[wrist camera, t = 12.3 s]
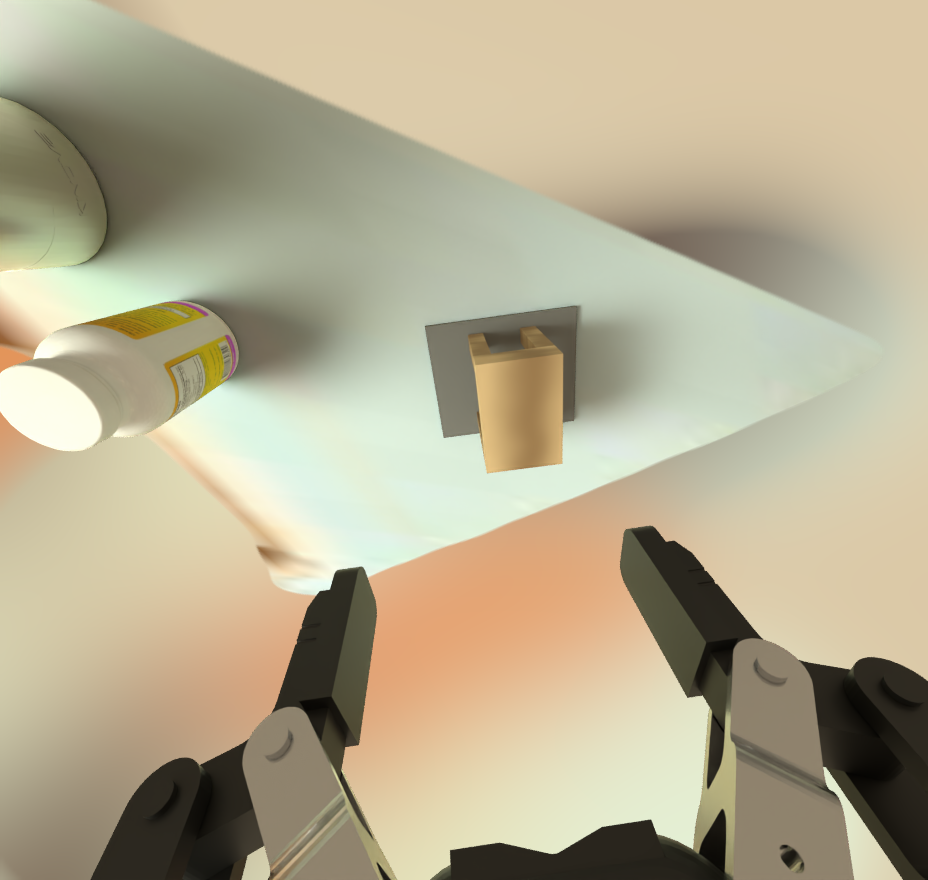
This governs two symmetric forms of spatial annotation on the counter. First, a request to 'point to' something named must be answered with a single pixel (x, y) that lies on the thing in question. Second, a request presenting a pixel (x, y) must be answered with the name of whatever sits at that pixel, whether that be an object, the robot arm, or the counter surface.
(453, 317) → the counter surface
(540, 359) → the notched wooden block
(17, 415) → the supplement bottle
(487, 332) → the rubber mat
